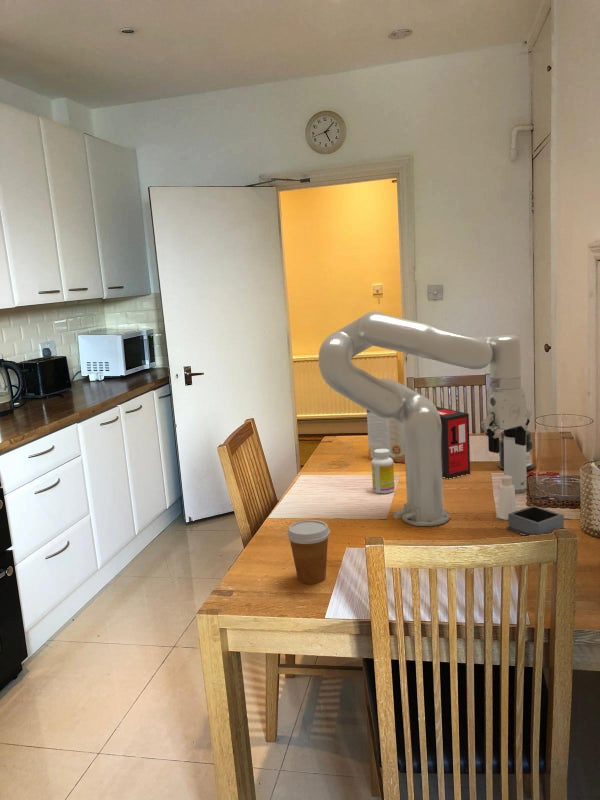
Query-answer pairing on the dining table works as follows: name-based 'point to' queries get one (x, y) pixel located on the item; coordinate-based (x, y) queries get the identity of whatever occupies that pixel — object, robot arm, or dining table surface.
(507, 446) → the travel mug
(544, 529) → the grey square tray
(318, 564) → the disposable coffee cup
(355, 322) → the robot arm
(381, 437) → the cracker box
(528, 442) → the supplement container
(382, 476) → the supplement bottle
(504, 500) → the pepper shaker
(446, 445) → the cleaning product box
